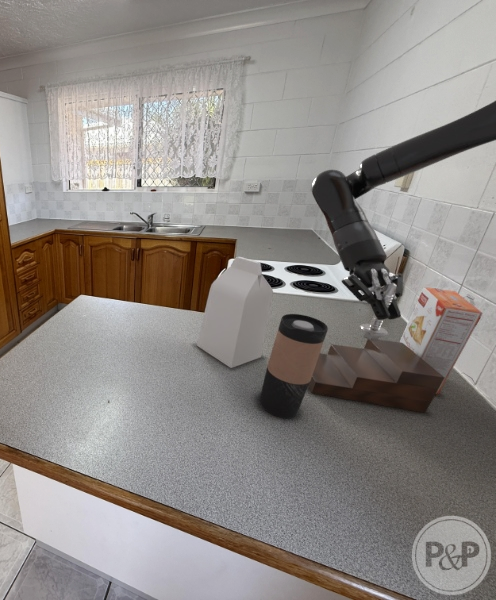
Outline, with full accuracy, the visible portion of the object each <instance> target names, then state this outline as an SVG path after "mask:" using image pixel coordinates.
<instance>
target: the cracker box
mask: <svg viewBox="0 0 496 600" xmlns="http://www.w3.org/2000/svg"><path fill="white" fill-rule="evenodd" d="M483 314H484V313H483V311H481V310H479V309H478V308H477V307H476V306H474V305H473V304H472V303H471V302H469V301H468V300H467V299H466V298H464V297H463V296H462V295H461V294H459V292H457V291H455V290H448V289H442V288H436V287H430V286H429V287H427V286H425V287H423V288H422V290H421V292H420V295H419V298H418V299H417V301H416V304H415V307H414V309H413V310H412V313H411V316H410V317H409V319H408V322H407V324H406V326H405V329H404V331H403V332H402V333H403V334H402V336H401V338H400V340H399V342H401V343H403V344H405V345H406V346H407V347H408V348H409V349H411V350H412V351H413V352H414V353H416V354H417V355H418V356H419V357H420V358H422V359H423V360H424V361H425V362H426V363H428V364H429V365H430V366H431V367H433V368H434V369H435V370H436V371H437V372H439V373H440V374H441V375H442V376H443V377H445V378H444V380H443V382H442V383H441V385H440V387H439V389H438V391H437V393H436V394H435V395H439V394H440V393H441V391H442V389H443V387H444V385H445V383H446V381H447V380H448V378H449V376H450V374H451V372H452V371H453V368H454V367H455V365H456V363H457V362H458V359H459V358H460V356H461V355H462V353H463V351H464V349H465V347H466V345H467V343H468V341H469V339H470V338H471V336H472V334H473V332H474V331H475V329H476V327H477V325H478V324H479V321H480V320H481V318H482V316H483Z"/></svg>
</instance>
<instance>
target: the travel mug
mask: <svg viewBox="0 0 496 600" xmlns="http://www.w3.org/2000/svg"><path fill="white" fill-rule="evenodd" d="M328 329H329V328H328V325H327V324H326V323H325V322H323V321H322V320H320V319H317V318H316V317H312V316H309V315H305V314H299V313H288V314H287V313H286V314H284V315H282V316H281V318H280V321H279V325H278V329H277V332H276V335H275V339H274V342H273V345H272V348H271V349H272V350H271V353H270V356H269V359H268V362H267V366H266V369H265V375H264V379H263V384H262V387H261V392H260V396H259V404H260V406H261V407H262V409H264V411H266V412H267V413H269V414H271V415H272V416H275V417H278V418H282V419H292V418H295V417H296V416H297V415H298V413H299V411H300V408H301V405H302V403H303V400H304V398H305V396H306V393H307V390H308V389H309V387H308V386H309V383H310V380H311V378H312V375H313V372H314V369H315V366H316V363H317V360H318V357H319V354H320V353H321V351H322V348H323V345H324V342H325V339H326V336H327V333H328Z"/></svg>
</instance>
